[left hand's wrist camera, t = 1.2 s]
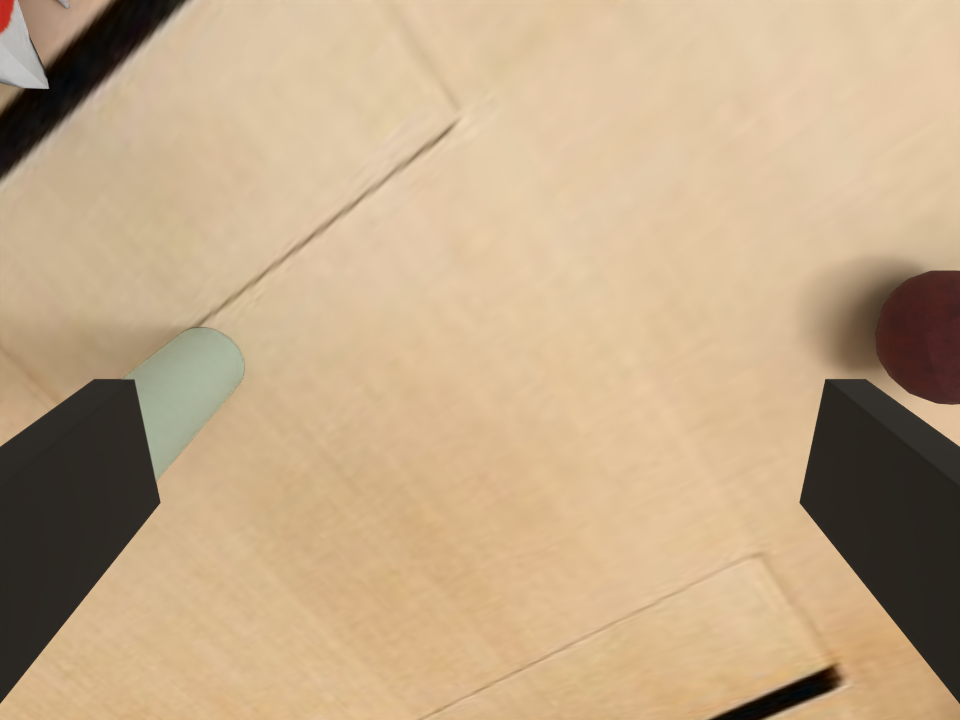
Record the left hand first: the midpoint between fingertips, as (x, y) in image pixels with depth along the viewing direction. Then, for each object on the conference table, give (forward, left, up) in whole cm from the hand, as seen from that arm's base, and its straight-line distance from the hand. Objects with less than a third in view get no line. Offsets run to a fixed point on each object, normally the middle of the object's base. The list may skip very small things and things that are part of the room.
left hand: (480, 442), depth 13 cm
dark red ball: (+6, +27, -28) cm, 39 cm away
